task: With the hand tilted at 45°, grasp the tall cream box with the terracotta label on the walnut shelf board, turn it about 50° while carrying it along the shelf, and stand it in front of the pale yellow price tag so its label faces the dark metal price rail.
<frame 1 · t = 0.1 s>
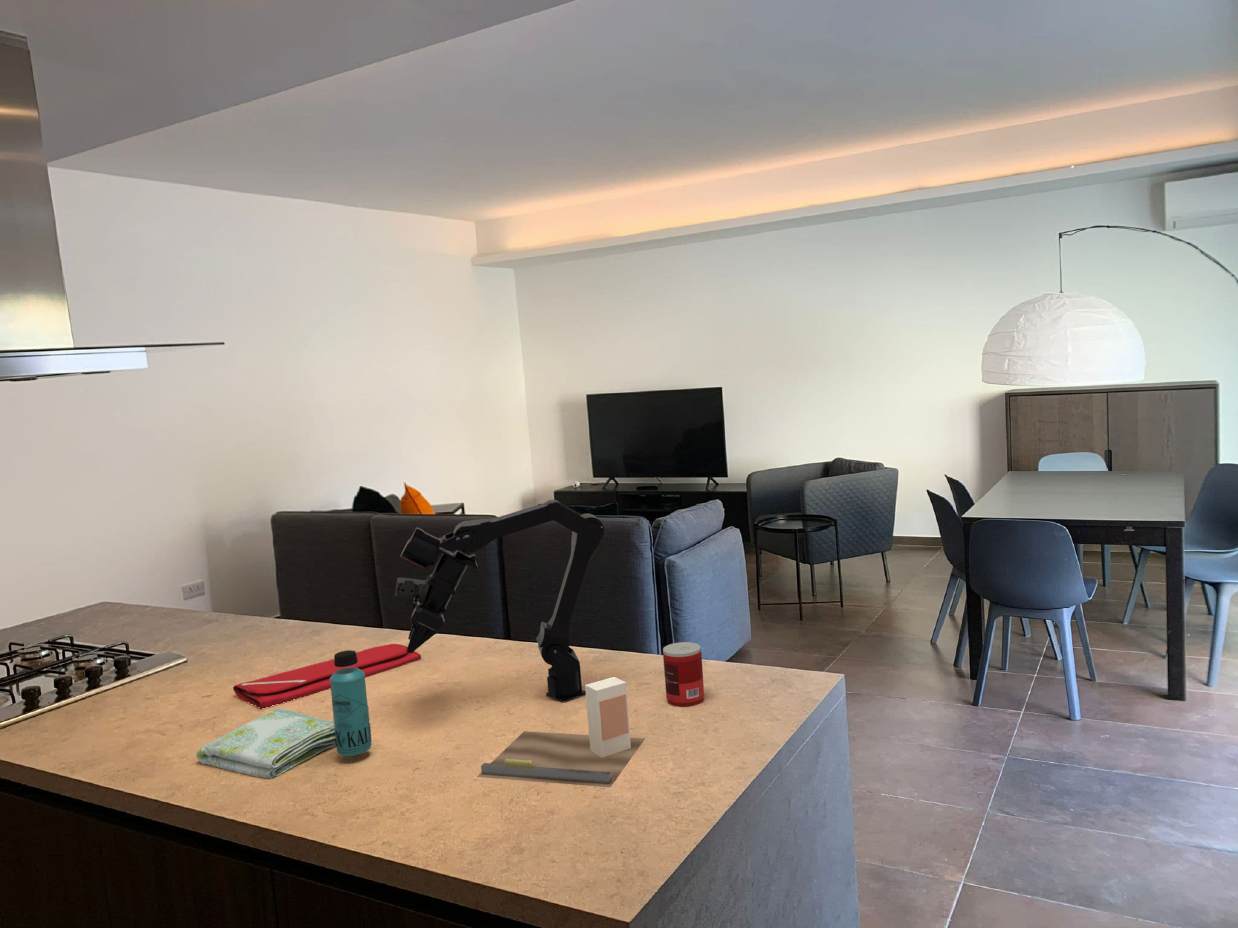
hand: (409, 645, 184), 15 cm above the counter, tool tilted 35°, fingers open, 9 cm apart
cream box: (610, 749, 159), point 1 cm above the counter, touching shelf board
dish drying mat: (331, 679, 216), on the counter
beverage bottle: (355, 757, 167), on the counter
canned food: (685, 700, 183), on the counter
towel: (273, 755, 172), on the counter
shelf board: (564, 762, 157), on the counter
price rail: (545, 777, 150), resting on shelf board
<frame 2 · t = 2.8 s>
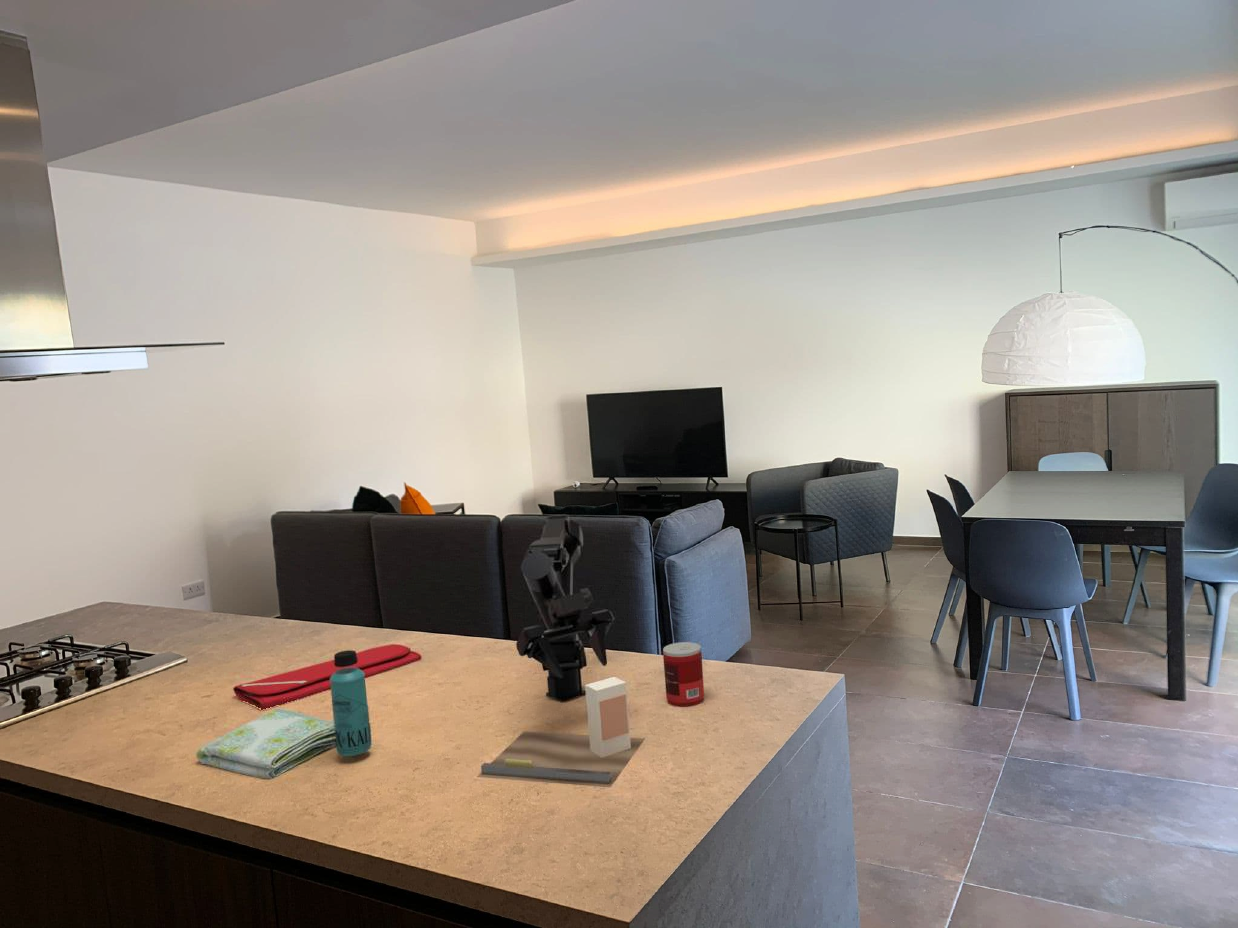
hand: (583, 670, 164), 14 cm above the counter, tool tilted 45°, fingers open, 9 cm apart
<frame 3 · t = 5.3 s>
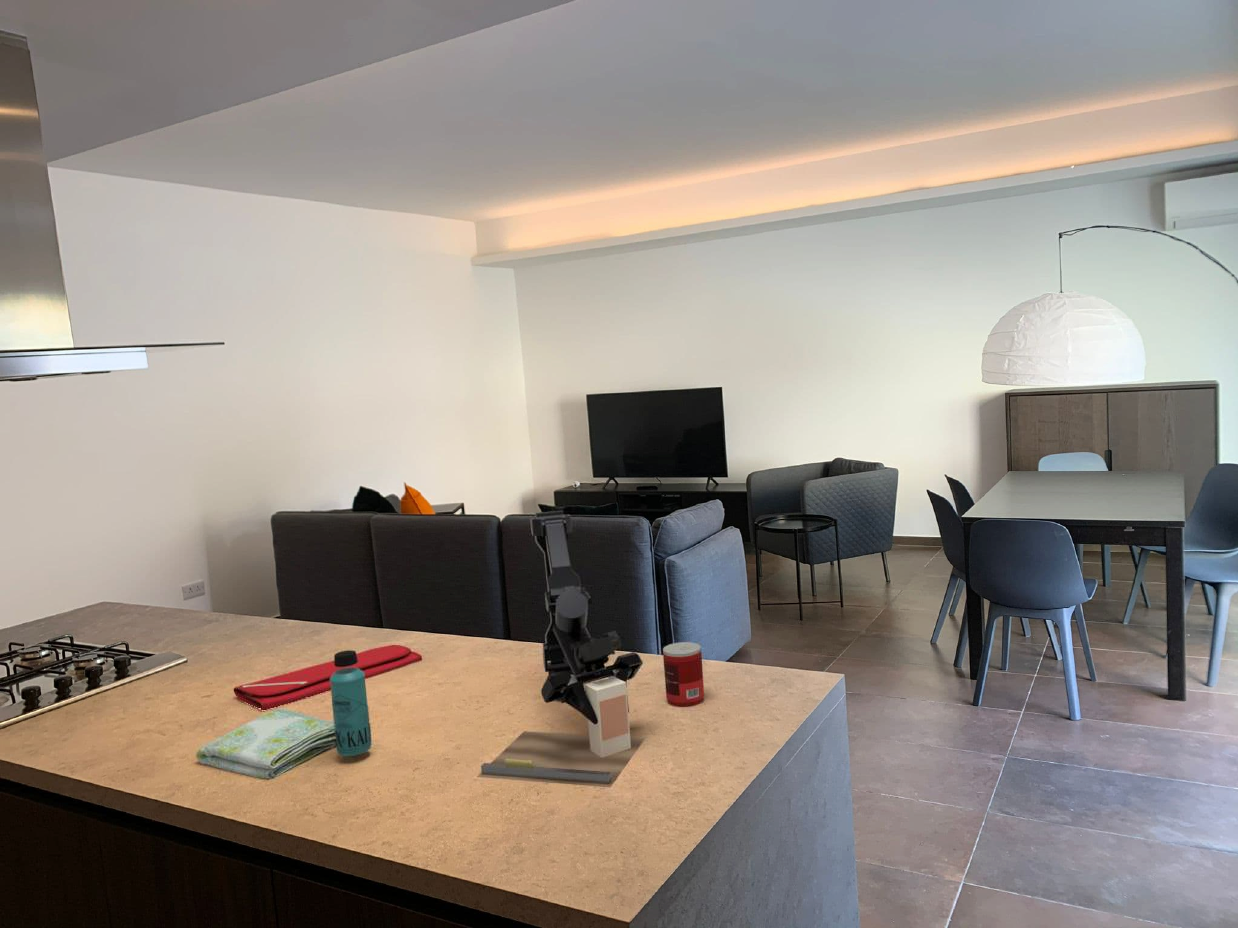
hand: (612, 718, 157), 7 cm above the counter, tool tilted 45°, fingers closed on cream box, 6 cm apart
cream box: (610, 749, 159), point 1 cm above the counter, touching gripper, shelf board
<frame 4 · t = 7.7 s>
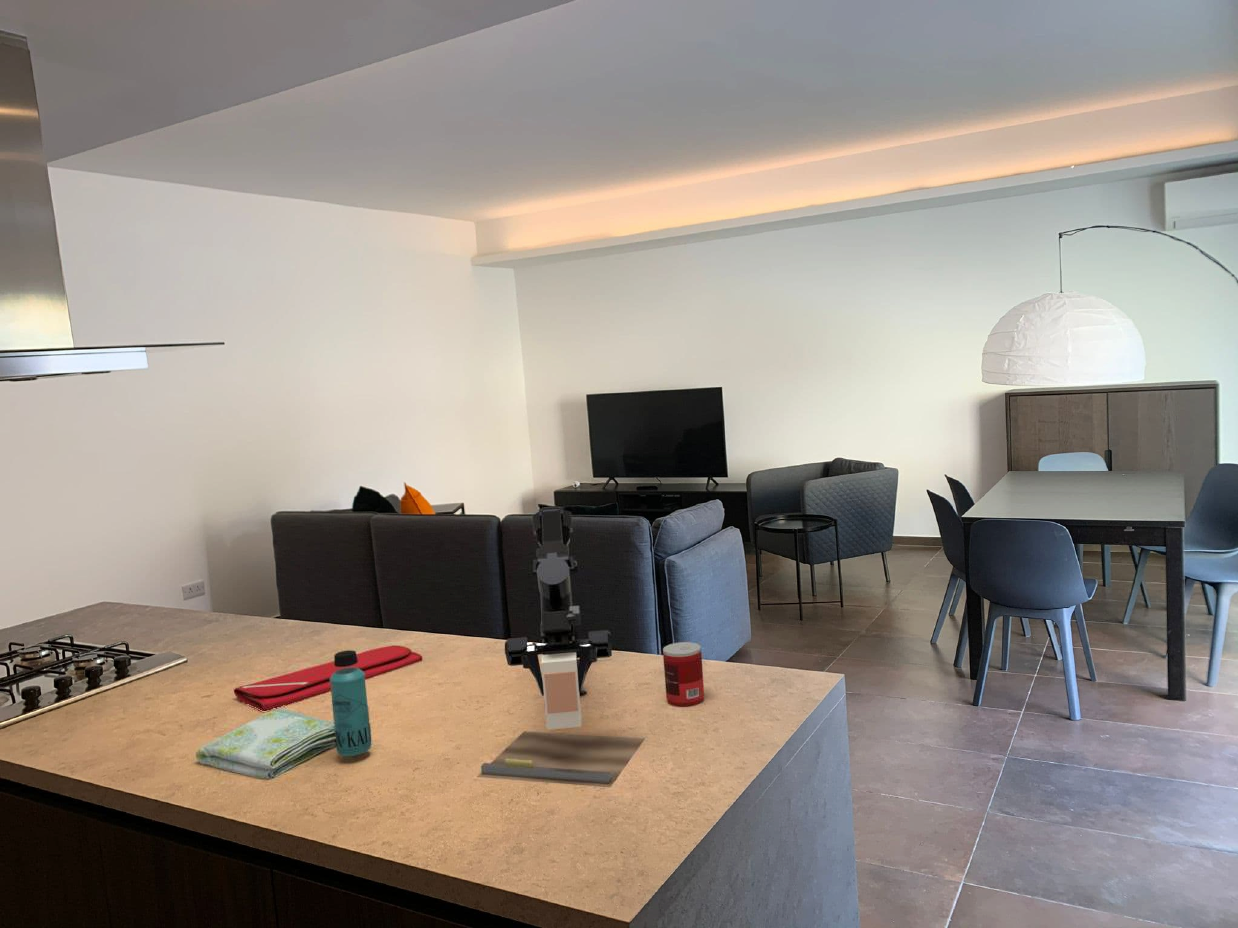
hand: (561, 692, 155), 13 cm above the counter, tool tilted 45°, fingers closed on cream box, 6 cm apart
cream box: (564, 723, 157), point 7 cm above the counter, touching gripper
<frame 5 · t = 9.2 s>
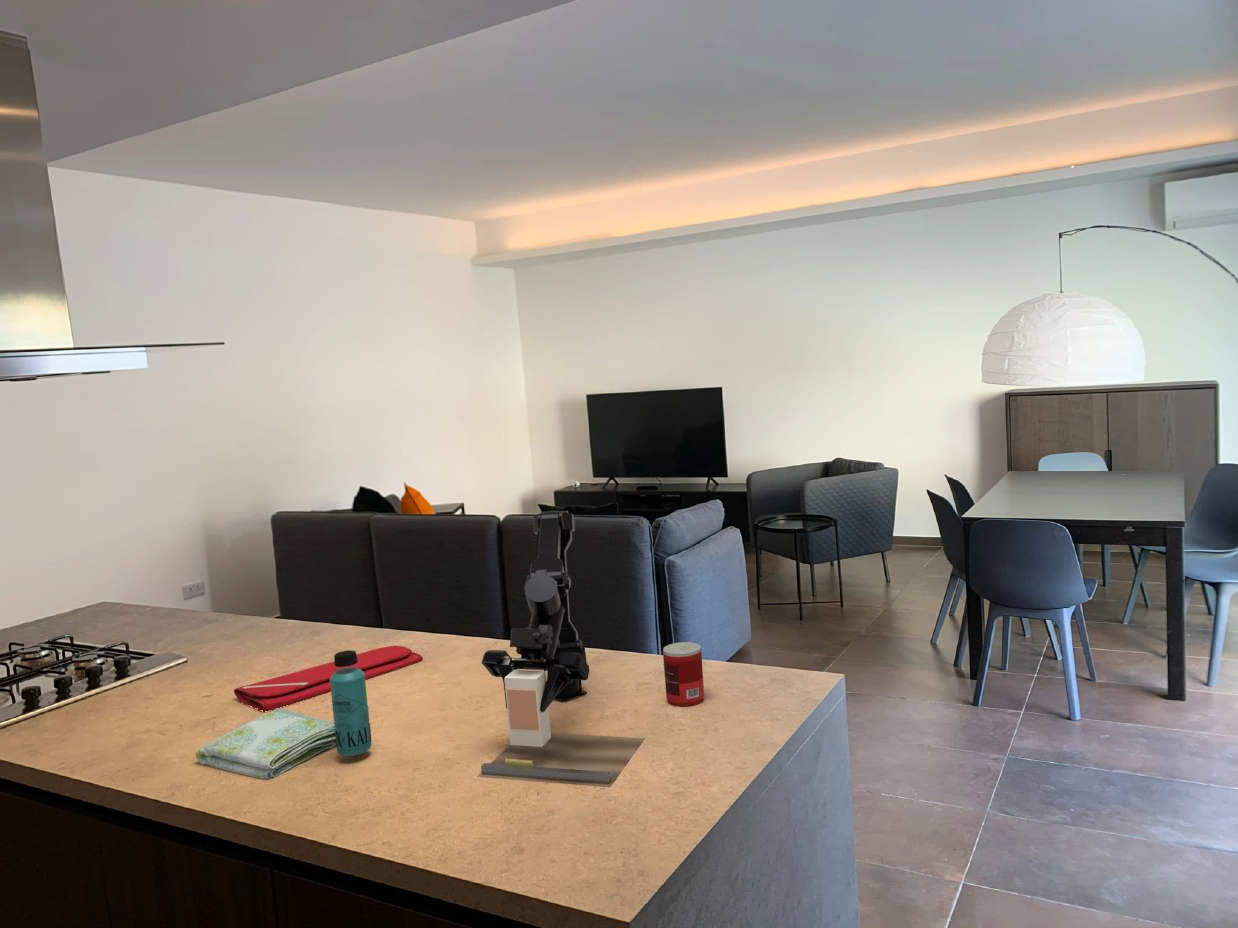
hand: (524, 710, 155), 11 cm above the counter, tool tilted 45°, fingers closed on cream box, 6 cm apart
cream box: (530, 740, 157), point 4 cm above the counter, touching gripper
when the fingers open (8 cm above the counter, at t = 10.2 s): cream box stays where it is, resting on shelf board.
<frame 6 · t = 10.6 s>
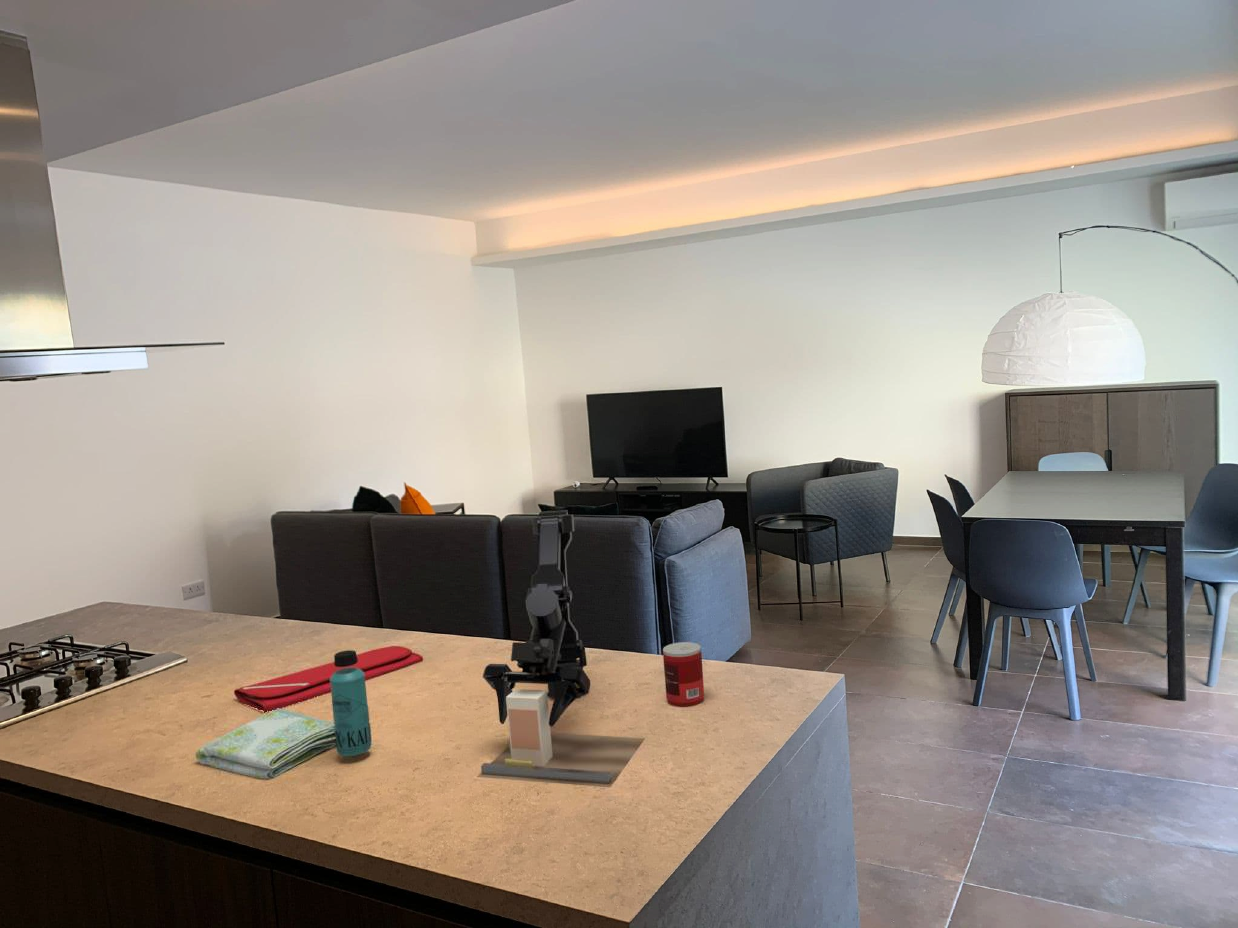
hand: (525, 724, 155), 8 cm above the counter, tool tilted 45°, fingers open, 9 cm apart
cream box: (532, 760, 157), point 1 cm above the counter, touching shelf board
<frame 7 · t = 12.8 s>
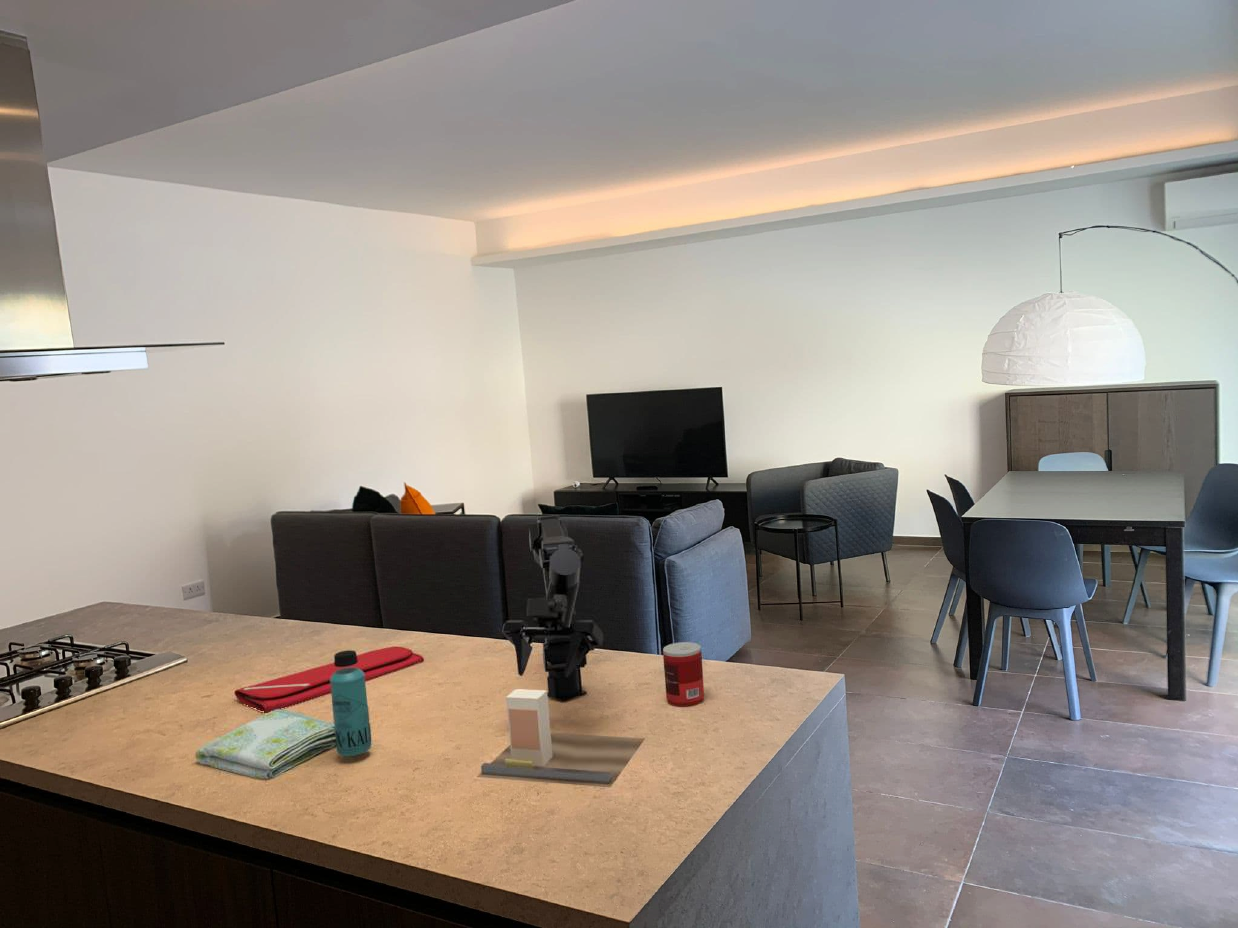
hand: (542, 675, 164), 13 cm above the counter, tool tilted 45°, fingers open, 9 cm apart
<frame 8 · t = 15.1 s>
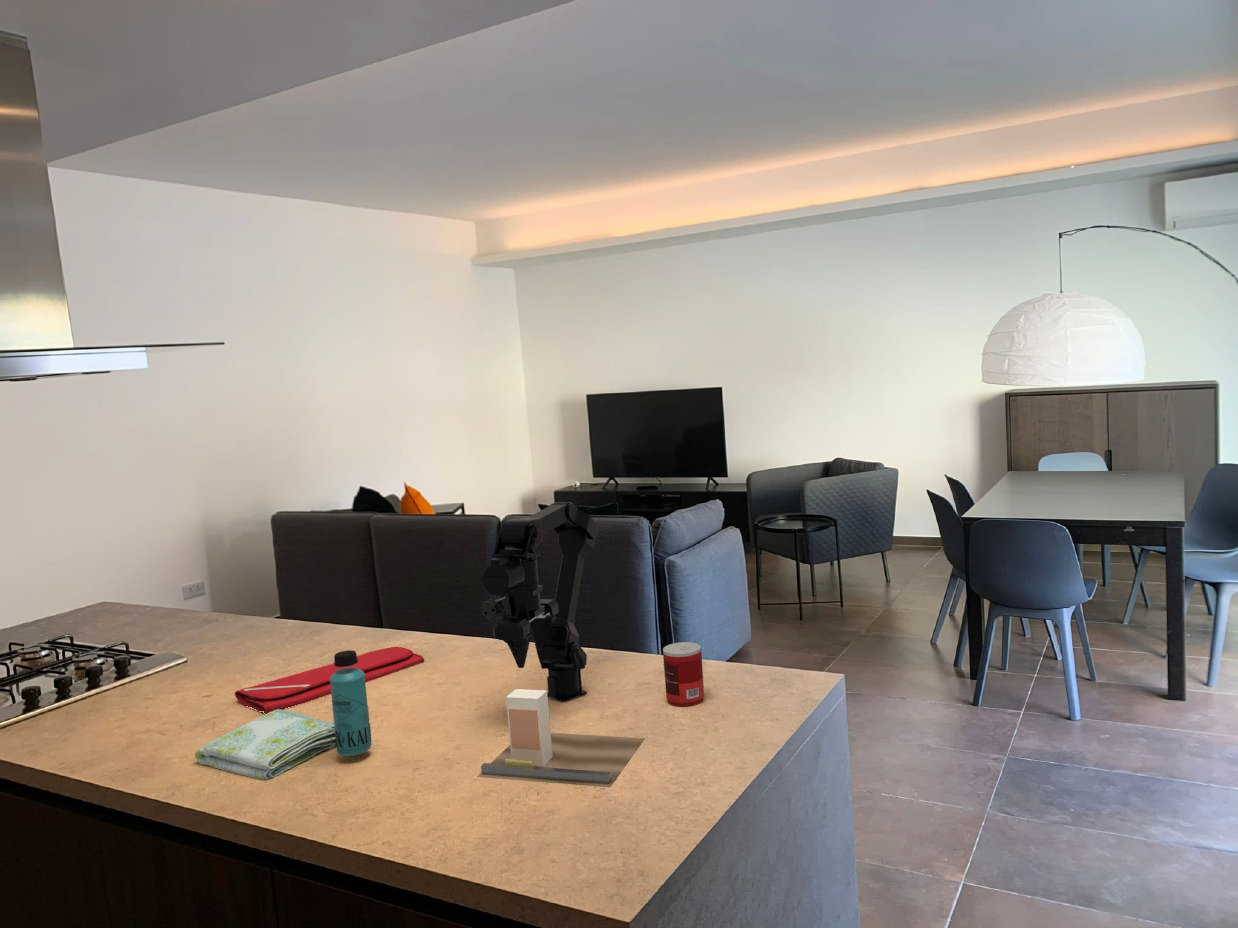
hand: (530, 660, 178), 12 cm above the counter, tool pointing down, fingers open, 9 cm apart
at the end: cream box 0.1 cm from the target spot on the shelf board, point 1.0 cm above the shelf board's base; cream box tilted 0°; the gripper is holding nothing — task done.
